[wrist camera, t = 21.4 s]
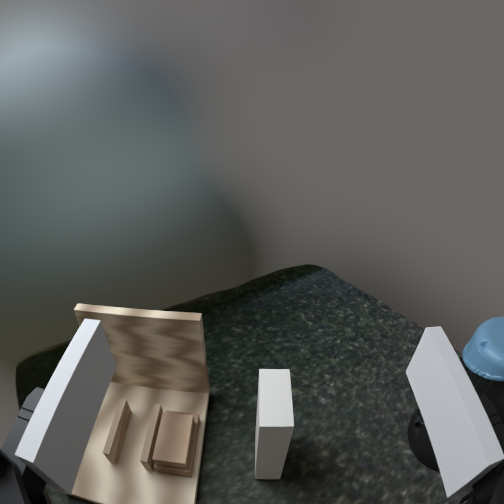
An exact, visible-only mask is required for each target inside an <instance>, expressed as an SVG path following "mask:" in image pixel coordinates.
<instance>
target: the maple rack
mask: <svg viewBox="0 0 504 504" xmlns="http://www.w3.org/2000/svg"><path fill="white" fill-rule="evenodd" d="M74 311H75V314H76V317H77V320H78V322H79V325H80V326H81V324H82V322H83V321H84V319H93V320H101V323H102V326H103V329H104V332H105V335H106V338H107V341H108V344H109V346H110V349H111V352H112V355H113V357H114V360H115V363H116V365H117V367H116V370H115V372H114V374H113V377H112V379H111V382H110V385H109V387H108V390H107V392H106V395H105V397H104V400H103V403H102V405H101V408H100V411H99V413H98V416H97V419H96V421H95V424H94V427H93V430H92V433H91V435H90V438H89V441H88V444H87V447H86V450H85V453H84V456H83V459H82V462H81V465H80V468H79V471H78V474H77V477H76V480H75V484H74V487H73V490H72V493H71V496H74V497H77V498H80V499H83V500H86V501H89V502H93V503H96V504H196V498H197V489H198V481H199V473H200V464H201V456H202V448H203V441H204V433H205V425H206V417H207V410H208V403H209V395H210V388H209V379H208V371H207V362H206V353H205V343H204V333H203V323H202V313H186V312H170V311H154V310H142V309H129V308H118V307H107V306H97V305H87V304H77V306H76V307H75V309H74ZM166 410H167V411H176V412H185V413H196V414H199V418H200V424H199V431H198V438H197V445H196V452H195V459H194V467H193V474H192V477H187V476H179V475H172V474H165V473H159V472H156V470H155V469H154V461H153V460H152V458H153V453H154V448H155V444H156V440H157V435H158V431H159V426H160V422H161V418H162V414H163V412H166ZM68 495H69V494H68Z"/></svg>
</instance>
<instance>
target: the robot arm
mask: <svg viewBox="0 0 504 504" xmlns="http://www.w3.org/2000/svg"><path fill="white" fill-rule="evenodd" d="M116 367H117V365H116V363H115V360H114V357H113V355H112V352H111V349H110V346H109V344H108V341H107V338H106V335H105V332H104V329H103V326H102V323H101V320H93V319H84V321H83V322H82V324H81V326H80V328H79V329H78V331H77V332H76V334H75V336H74V338H73V339H72V341H71V343H70V345H69V346H68V348H67V350H66V352H65V353H64V355H63V357H62V359H61V361H60V362H59V364H58V366H57V368H56V370H55V372H54V373H53V375H52V377H51V379H50V381H49V383H48V385H47V387H46V389H45V390H44V389H41V388H36V389H35V390H33V391H32V392H31V393H30V394H29V395H28V396H27V398H26V400H25V402H24V404H23V406H22V409H21V410H20V412H19V414H18V418H16V420H15V422H14V424H13V426H12V428H11V430H10V433H9V434H8V437H7V439H6V441H5V443H4V446H3V447H2V449H0V504H52V503H51V500H50V498H49V495H48V493H47V491H46V490H45V485H46V483H47V484H48V485H49V486H51V487H52V488H53V489H55V490H58V491H61V492H63V493H66V494H69V495H71V493H72V490H73V487H74V484H75V480H76V477H77V474H78V471H79V468H80V465H81V462H82V459H83V456H84V453H85V450H86V447H87V444H88V441H89V438H90V435H91V433H92V430H93V427H94V424H95V421H96V419H97V416H98V413H99V411H100V408H101V405H102V403H103V400H104V397H105V395H106V392H107V390H108V387H109V385H110V382H111V379H112V377H113V374H114V372H115V370H116ZM406 374H407V377H408V379H409V382H410V384H411V387H412V390H413V392H414V395H415V398H416V400H417V403H418V406H419V408H418V409H417V410H416V412H415V413H414V415H413V416H412V418H411V420H410V423H409V427H408V440H409V444H410V447H411V449H412V451H413V453H414V454H415V456H416V457H417V458H418V459H419V460H420V461H421V462H422V463H423V464H424V465H426V466H427V467H429V468H431V469H434V470H437V471H440V473H441V476H442V480H443V483H444V487H445V490H446V494H447V498H448V497H451V496H454V495H457V494H460V493H462V492H464V491H466V490H467V489H468V488H470V487H471V486H472V487H473V491H472V492H470V493H469V494H468V495H466V496H465V497H463V498H462V499H461V501H460V502H459V503H463V502H464V501H466V500H467V499H468V501H467V502H466V503H465V504H504V317H496V318H491V319H489V320H487V321H485V322H484V323H482V324H481V325H480V326H479V327H478V329H477V330H476V332H475V333H474V335H473V337H472V339H471V340H470V341H469V342H468V343H467V345H466V346H465V348H464V350H463V355H462V357H461V359H460V360H459V358H458V356H457V354H456V353H455V351H454V349H453V347H452V346H451V344H450V342H449V340H448V338H447V337H446V335H445V333H444V331H443V330H442V328H441V327H440V326H439V327H427V328H426V329H425V331H424V333H423V336H422V338H421V340H420V343H419V345H418V347H417V349H416V351H415V353H414V356H413V358H412V360H411V362H410V364H409V366H408V368H407V370H406Z"/></svg>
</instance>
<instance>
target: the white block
mask: <svg viewBox="0 0 504 504" xmlns="http://www.w3.org/2000/svg"><path fill="white" fill-rule="evenodd" d="M293 428H294V420H293V407H292V394H291V382H290V370H289V369H259V385H258V402H257V418H256V434H255V479H280V477H281V474H282V470H283V466H284V463H285V459H286V455H287V452H288V448H289V444H290V440H291V436H292V432H293Z"/></svg>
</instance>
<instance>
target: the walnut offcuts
mask: <svg viewBox="0 0 504 504" xmlns="http://www.w3.org/2000/svg"><path fill="white" fill-rule="evenodd" d="M199 424H200V418H199V414H196V413H185V412H176V411H167V410H166V412H163V414H162V418H161V422H160V426H159V431H158V435H157V440H156V444H155V448H154V453H153V458H152V460H153V461H154V469H155V470H156V472H159V473H165V474H172V475H179V476H187V477H192V474H193V467H194V459H195V452H196V445H197V438H198V431H199Z"/></svg>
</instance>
